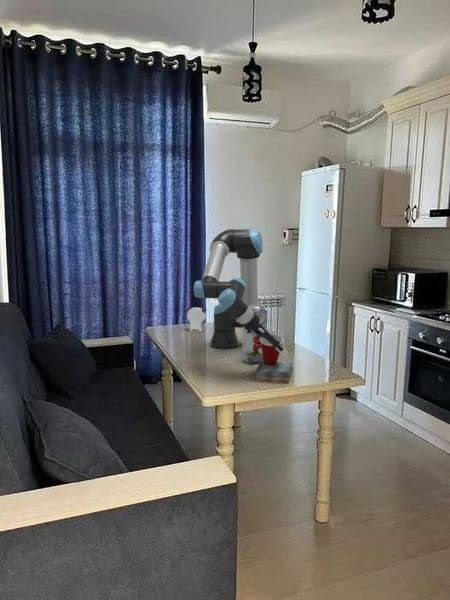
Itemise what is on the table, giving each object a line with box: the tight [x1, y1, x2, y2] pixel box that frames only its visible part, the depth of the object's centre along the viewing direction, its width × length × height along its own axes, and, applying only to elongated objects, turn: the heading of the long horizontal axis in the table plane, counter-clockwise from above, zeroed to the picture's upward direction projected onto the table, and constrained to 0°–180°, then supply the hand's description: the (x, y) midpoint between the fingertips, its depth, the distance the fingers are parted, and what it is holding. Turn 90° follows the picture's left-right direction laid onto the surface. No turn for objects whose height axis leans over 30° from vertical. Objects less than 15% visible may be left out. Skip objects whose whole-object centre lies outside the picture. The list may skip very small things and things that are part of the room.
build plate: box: [254, 361, 293, 385], centre depth 202 cm, size 14×20×4 cm
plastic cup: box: [259, 333, 285, 366], centre depth 203 cm, size 11×11×12 cm
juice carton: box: [242, 307, 268, 365], centre depth 221 cm, size 9×10×27 cm
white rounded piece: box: [186, 306, 207, 331], centre depth 286 cm, size 12×11×15 cm
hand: (279, 350), depth 201 cm, fingers open, 13 cm apart
